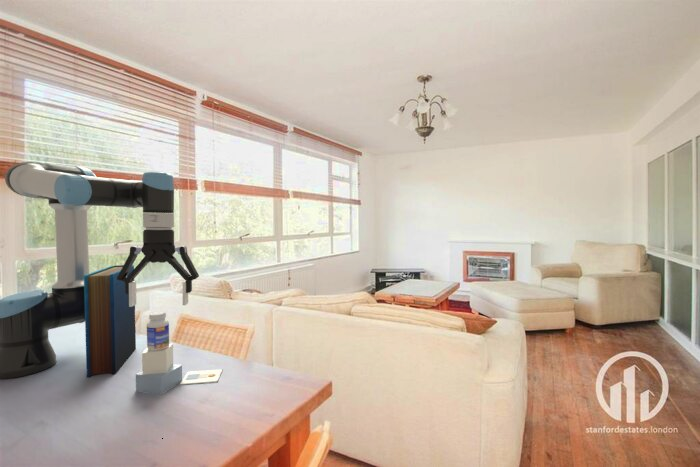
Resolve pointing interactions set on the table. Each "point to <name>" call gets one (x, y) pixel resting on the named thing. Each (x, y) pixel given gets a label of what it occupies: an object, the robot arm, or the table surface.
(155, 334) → the pill bottle
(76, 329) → the table surface
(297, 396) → the table surface
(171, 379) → the base block
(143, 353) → the cream cube
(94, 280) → the book
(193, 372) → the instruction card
